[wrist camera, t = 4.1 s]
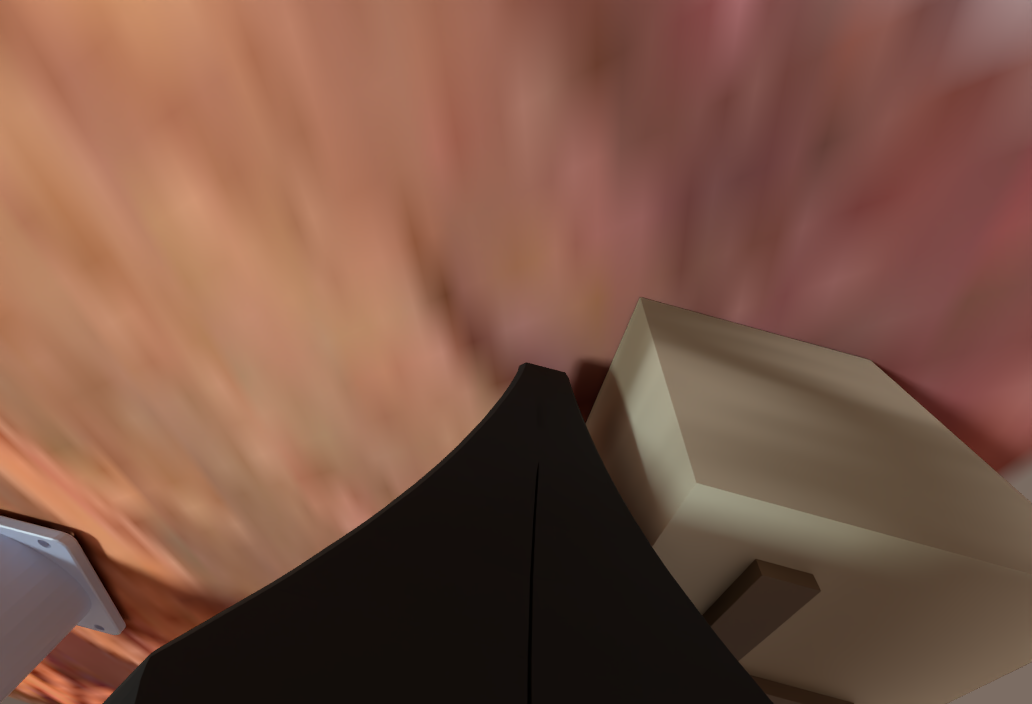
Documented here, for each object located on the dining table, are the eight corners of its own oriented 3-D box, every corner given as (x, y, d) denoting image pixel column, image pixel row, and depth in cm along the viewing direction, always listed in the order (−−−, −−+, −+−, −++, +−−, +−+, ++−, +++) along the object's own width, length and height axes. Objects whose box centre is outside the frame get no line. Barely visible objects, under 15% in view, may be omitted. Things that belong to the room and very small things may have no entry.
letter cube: (569, 460, 11) (561, 690, 7) (640, 297, 9) (700, 497, 4) (746, 508, 11) (852, 769, 7) (870, 360, 9) (1170, 625, 4)
